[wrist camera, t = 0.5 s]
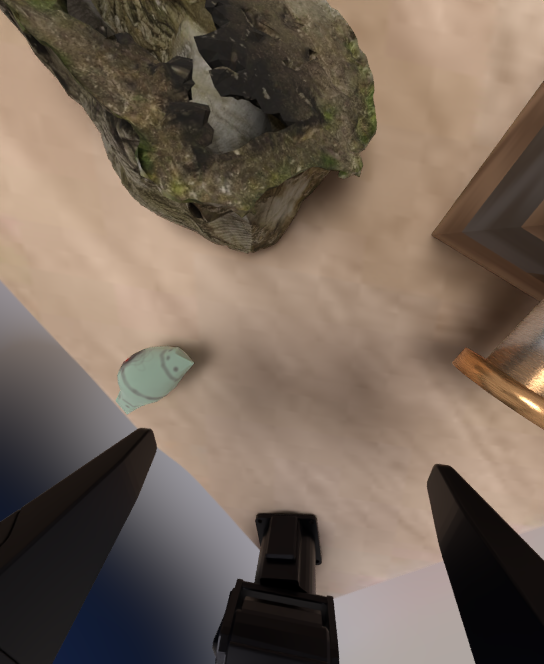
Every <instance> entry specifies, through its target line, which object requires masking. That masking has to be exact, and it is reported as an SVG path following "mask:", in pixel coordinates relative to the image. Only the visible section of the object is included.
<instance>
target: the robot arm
mask: <svg viewBox="0 0 544 664" xmlns="http://www.w3.org/2000/svg"><path fill="white" fill-rule="evenodd" d="M156 449H157V444H156V441H155V437H154V433H153V431H152V430H151V429H148V428H139V429H137V430H136V431H134V432H132V433H131V434H130V435H128V436H127V437H125V438H124V439H122V440H121V441H119V442H118V443H116V444H115V445H113V446H112V447H110V448H109V449H107V450H106V451H104V452H103V453H102V454H100V455H99V456H97V457H96V458H94V459H93V460H91V461H90V462H88V463H87V464H85V465H84V466H82V467H81V468H79V469H78V470H77V471H75V472H74V473H72V474H71V475H69V476H68V477H66V478H65V479H63V480H62V481H60V482H59V483H57V484H56V485H54V486H53V487H51V488H50V489H48V490H47V491H46V492H44V493H43V494H41V495H40V496H38V497H37V498H36V499H34V500H32V501H31V502H29V503H28V504H26V505H25V506H24V507H22V508H21V510H18V511H16V512H14V513H13V514H11V515H10V516H9V517H7V518H6V519H4V520H3V521H1V522H0V664H52V663H53V661H54V659H55V657H56V655H57V653H58V651H59V649H60V647H61V645H62V643H63V641H64V640H65V638H66V636H67V634H68V632H69V630H70V628H71V626H72V624H73V622H74V620H75V618H76V616H77V614H78V613H79V611H80V609H81V607H82V605H83V603H84V601H85V599H86V597H87V595H88V593H89V591H90V589H91V587H92V585H93V583H94V582H95V580H96V578H97V576H98V574H99V572H100V570H101V568H102V566H103V564H104V562H105V560H106V558H107V556H108V554H109V552H110V551H111V549H112V547H113V545H114V543H115V541H116V539H117V537H118V535H119V533H120V531H121V529H122V527H123V525H124V523H125V521H126V520H127V518H128V516H129V514H130V512H131V510H132V508H133V506H134V504H135V502H136V500H137V498H138V496H139V493H140V491H141V488H142V486H143V483H144V481H145V478H146V476H147V473H148V471H149V468H150V466H151V463H152V461H153V458H154V456H155V453H156ZM427 490H428V495H429V499H430V504H431V509H432V514H433V519H434V524H435V529H436V534H437V538H438V543H439V547H440V550H441V554H442V557H443V560H444V564H445V567H446V570H447V573H448V576H449V580H450V583H451V586H452V589H453V592H454V596H455V599H456V602H457V605H458V609H459V612H460V615H461V618H462V622H463V625H464V628H465V631H466V635H467V638H468V641H469V644H470V648H471V651H472V654H473V657H474V661H475V663H476V664H544V560H543V559H542V558H541V557H540V556H539V555H538V554H537V553H536V552H535V551H534V550H533V549H532V548H531V547H530V546H529V545H528V544H527V543H526V542H525V541H524V540H523V539H522V538H521V537H520V536H519V535H518V534H517V533H516V532H515V531H514V530H513V529H512V528H511V527H510V526H509V525H508V524H507V523H506V522H505V520H504V519H503V518H502V517H501V516H500V515H499V514H498V513H497V512H496V511H495V510H494V509H493V508H492V507H491V506H490V505H489V504H488V503H487V502H486V501H485V500H484V499H483V498H482V497H481V496H480V495H479V494H478V493H477V492H476V491H475V490H474V489H473V488H472V487H471V486H470V485H469V484H468V483H467V482H466V481H465V480H464V479H463V478H462V477H461V476H460V475H459V474H458V473H457V472H456V471H455V470H454V469H453V468H452V467H451V466H449V465H442V464H435V465H434V466H433V468H432V471H431V473H430V476H429V478H428V481H427ZM311 520H312V521H311ZM255 522H256V527H257V531H258V536H259V541H260V546H261V548H260V554H259V560H258V565H257V571H256V576H255V582H254V583H251V582H245V581H243V580H242V579H237V582H236V585H235V588H233V590H232V591H231V592H230V595H229V599H228V603H227V607H226V611H225V614H224V617H223V619H222V621H221V624H220V626H219V628H218V631H217V633H216V635H215V638H214V641H213V647H212V648H213V651H214V654H215V656H216V662H215V663H216V664H339V651H338V639H337V630H336V621H335V610H334V601H333V596H327V597H326V596H320V595H316V581H315V565H320V564H321V563H322V557H321V550H320V542H319V534H318V526H317V519H316V517H315V516H313V515H274V514H258V515H257V516H256V520H255Z"/></svg>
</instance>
